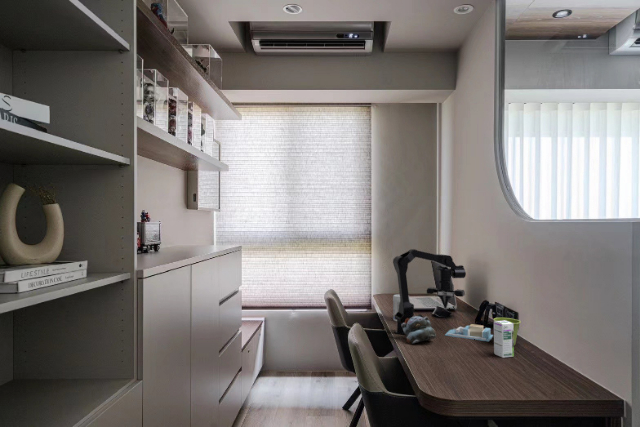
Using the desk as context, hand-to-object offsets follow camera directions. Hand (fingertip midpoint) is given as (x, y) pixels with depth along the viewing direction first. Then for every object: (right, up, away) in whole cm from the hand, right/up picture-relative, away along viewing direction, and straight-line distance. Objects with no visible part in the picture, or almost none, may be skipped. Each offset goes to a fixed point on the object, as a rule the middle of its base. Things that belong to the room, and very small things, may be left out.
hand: (445, 308), depth 223 cm
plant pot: (+22, -12, -24) cm, 35 cm away
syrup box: (+13, -12, -41) cm, 44 cm away
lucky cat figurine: (-19, -12, -20) cm, 30 cm away
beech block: (+12, -11, -11) cm, 20 cm away
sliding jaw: (+7, -11, -8) cm, 16 cm away
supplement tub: (-19, -13, +23) cm, 32 cm away
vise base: (+9, -12, -9) cm, 18 cm away
